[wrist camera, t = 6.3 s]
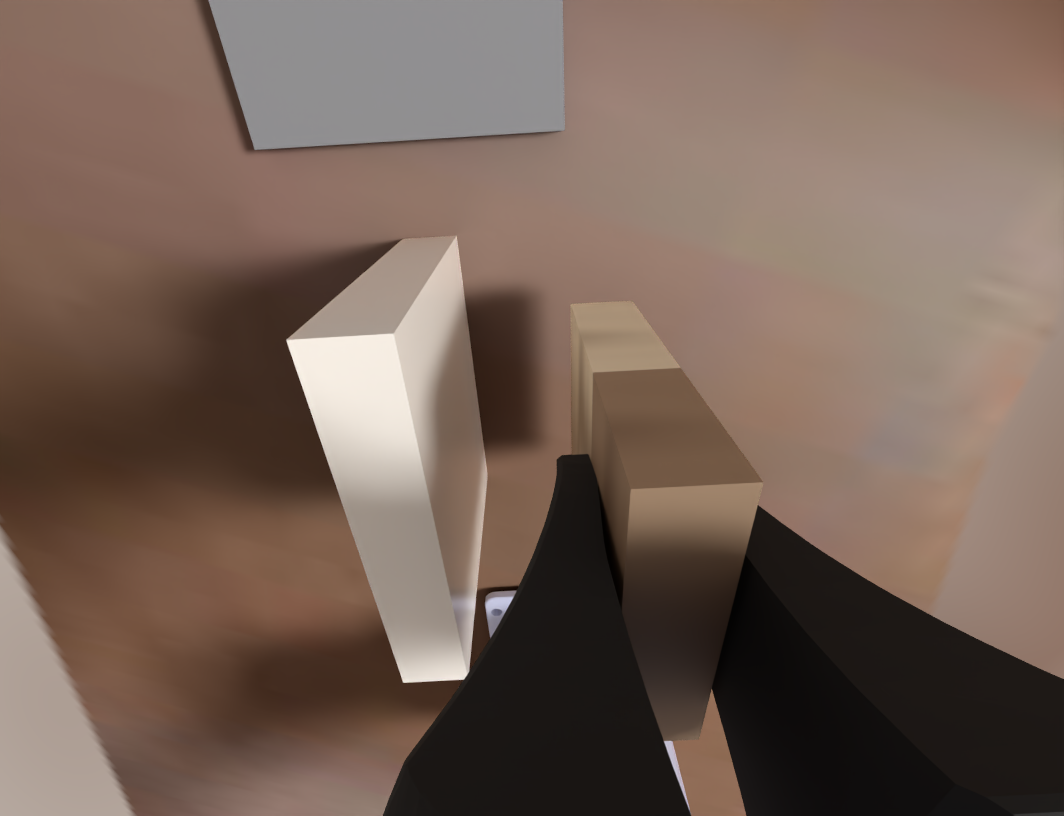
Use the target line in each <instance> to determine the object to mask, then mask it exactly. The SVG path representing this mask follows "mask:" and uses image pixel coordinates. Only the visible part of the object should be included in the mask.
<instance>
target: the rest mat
mask: <svg viewBox="0 0 1064 816" xmlns="http://www.w3.org/2000/svg"><path fill="white" fill-rule="evenodd" d="M208 1H209V4H210V7H211V10H212V13H213V17H214V20H215V23H216V26H217V30H218V33H219V36H220V39H221V42H222V46H223V49H224V52H225V55H226V59H227V62H228V65H229V68H230V72H231V75H232V78H233V81H234V84H235V88H236V91H237V94H238V97H239V101H240V104H241V107H242V110H243V113H244V117H245V120H246V123H247V126H248V130H249V133H250V136H251V139H252V142H253V146H254V149H255V150H262V149H279V148H295V147H311V146H327V145H343V144H359V143H375V142H391V141H407V140H423V139H439V138H455V137H471V136H487V135H503V134H519V133H535V132H551V131H564V130H565V117H564V54H563V0H208Z"/></svg>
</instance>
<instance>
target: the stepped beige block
mask: <svg viewBox="0 0 1064 816" xmlns="http://www.w3.org/2000/svg"><path fill="white" fill-rule="evenodd" d="M571 433H572V455H578V454H588V455H589V457H590V460H591V462H592V465H593V468H594V471H595V474H596V477H597V484H598V492H599V501H600V510H601V519H602V528H603V536H604V544H605V549H606V555H607V560H608V564H609V567H610V571H611V575H612V579H613V582H614V586H615V590H616V593H617V597H618V601H619V604H620V607H621V611H622V614H623V618H624V621H625V624H626V628H627V631H628V635H629V638H630V641H631V645H632V648H633V651H634V654H635V657H636V660H637V663H638V666H639V669H640V673H641V676H642V679H643V682H644V685H645V688H646V691H647V694H648V697H649V700H650V703H651V706H652V709H653V712H654V714H655V717H656V720H657V723H658V726H659V729H660V731H661V734H662V737H663V740H664V741H678V740H697V739H699V736H700V733H701V729H702V725H703V721H704V717H705V713H706V709H707V705H708V701H709V697H710V693H711V689H712V685H713V681H714V677H715V673H716V669H717V665H718V661H719V657H720V653H721V649H722V645H723V641H724V637H725V633H726V629H727V625H728V621H729V617H730V613H731V609H732V605H733V601H734V597H735V593H736V589H737V585H738V582H739V578H740V574H741V570H742V566H743V562H744V558H745V554H746V550H747V546H748V542H749V538H750V534H751V530H752V526H753V522H754V518H755V514H756V510H757V506H758V502H759V498H760V494H761V490H762V486H763V481H762V480H761V478H760V477H759V475H758V474H757V473H756V471H755V470H754V469H753V467H752V466H751V464H750V463H749V462H748V460H747V459H746V457H745V456H744V455H743V453H742V452H741V451H740V449H739V448H738V446H737V445H736V444H735V442H734V441H733V440H732V438H731V437H730V435H729V434H728V433H727V431H726V430H725V429H724V427H723V426H722V424H721V423H720V422H719V420H718V419H717V417H716V416H715V415H714V413H713V412H712V411H711V409H710V408H709V406H708V405H707V404H706V402H705V401H704V400H703V398H702V397H701V395H700V394H699V393H698V391H697V390H696V388H695V387H694V386H693V384H692V383H691V382H690V380H689V379H688V377H687V376H686V375H685V373H684V372H683V371H682V369H681V368H680V366H679V365H678V364H677V362H676V361H675V359H674V358H673V357H672V355H671V354H670V353H669V351H668V350H667V348H666V347H665V346H664V344H663V343H662V342H661V340H660V339H659V337H658V336H657V335H656V333H655V332H654V331H653V329H652V328H651V326H650V325H649V324H648V322H647V321H646V319H645V318H644V317H643V315H642V314H641V313H640V311H639V310H638V308H637V307H636V306H635V304H634V303H633V302H632V301H617V302H598V303H580V304H571Z"/></svg>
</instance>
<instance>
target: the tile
mask: <svg viewBox="0 0 1064 816" xmlns="http://www.w3.org/2000/svg"><path fill="white" fill-rule="evenodd" d="M286 341H287V344H288V347H289V350H290V353H291V356H292V358H293V361H294V364H295V367H296V370H297V373H298V376H299V379H300V382H301V385H302V388H303V391H304V394H305V396H306V399H307V402H308V405H309V408H310V411H311V414H312V417H313V420H314V423H315V426H316V429H317V432H318V434H319V437H320V440H321V443H322V446H323V449H324V452H325V455H326V458H327V461H328V464H329V467H330V470H331V472H332V475H333V478H334V481H335V484H336V487H337V490H338V493H339V496H340V499H341V502H342V505H343V508H344V510H345V513H346V516H347V519H348V522H349V525H350V528H351V531H352V534H353V537H354V540H355V543H356V546H357V548H358V551H359V554H360V557H361V560H362V563H363V566H364V569H365V572H366V575H367V578H368V581H369V584H370V586H371V589H372V592H373V595H374V598H375V601H376V604H377V607H378V610H379V613H380V616H381V619H382V622H383V624H384V627H385V630H386V633H387V636H388V639H389V642H390V645H391V648H392V651H393V654H394V657H395V660H396V662H397V665H398V668H399V671H400V674H401V677H402V680H403V683H409V682H428V681H446V680H464V679H465V677H466V676H467V674H468V673H469V667H470V657H471V646H472V635H473V625H474V614H475V604H476V593H477V582H478V572H479V561H480V550H481V540H482V529H483V518H484V508H485V497H486V487H487V476H488V475H487V467H486V460H485V452H484V444H483V436H482V429H481V421H480V413H479V405H478V398H477V390H476V382H475V375H474V367H473V359H472V351H471V344H470V336H469V328H468V320H467V313H466V305H465V297H464V289H463V282H462V274H461V266H460V258H459V251H458V243H457V236H443V237H426V238H410V239H402V240H401V241H400V242H399V243H397V244H396V245H395V246H394V247H393V248H392V249H391V250H389V251H388V252H387V253H386V254H385V255H384V256H382V257H381V258H380V259H379V260H378V261H377V262H376V263H374V264H373V265H372V266H371V267H370V268H369V269H367V270H366V271H365V272H364V273H363V274H362V275H361V276H359V277H358V278H357V279H356V280H355V281H354V282H352V283H351V284H350V285H349V286H348V287H347V288H346V289H344V290H343V291H342V292H341V293H340V294H339V295H337V296H336V297H335V298H334V299H333V300H332V301H331V302H329V303H328V304H327V305H326V306H325V307H324V308H322V309H321V310H320V311H319V312H318V313H317V314H316V315H314V316H313V317H312V318H311V319H310V320H309V321H307V322H306V323H305V324H304V325H303V326H302V327H301V328H299V329H298V330H297V331H296V332H295V333H294V334H292V335H291V336H290V337H289V338H288V339H287V340H286Z"/></svg>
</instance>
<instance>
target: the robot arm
mask: <svg viewBox="0 0 1064 816" xmlns="http://www.w3.org/2000/svg"><path fill="white" fill-rule="evenodd" d="M485 609H486V615H487V621H488V627H489V633H490V640H489V642H488V643H487V645H486V646H485V648H484V650H483V651H482V653H481V654H480V656H479V657H478V659H477V660H476V662H475V663H474V665H473V666H472V668H471V670H470V671H469V673H468V674H467V676H466V677H465V679H464V680H463V682H462V683H461V685H460V686H459V688H458V689H457V691H456V692H455V694H454V695H453V697H452V698H451V699H450V701H449V702H448V704H447V705H446V706H445V708H444V709H443V710H442V712H441V713H440V714H439V716H438V717H437V718H436V720H435V721H434V722H433V724H432V725H431V726H430V728H429V729H428V730H427V732H426V733H425V734H424V736H423V737H422V738H421V740H420V741H419V742H418V744H417V745H416V746H415V748H414V749H413V750H412V752H411V753H410V754H409V756H408V757H407V758H406V760H405V762H404V764H403V766H402V769H401V771H400V773H399V776H398V778H397V781H396V783H395V785H394V788H393V790H392V793H391V795H390V798H389V800H388V803H387V806H386V808H385V811H384V814H383V816H691V813H690V809H689V805H688V801H687V797H686V793H685V789H684V785H683V782H682V778H681V774H680V770H679V766H678V762H677V758H676V754H675V750H674V746H673V742H672V741H664V740H663V737H662V734H661V731H660V729H659V726H658V723H657V720H656V717H655V714H654V712H653V709H652V706H651V703H650V700H649V697H648V694H647V691H646V688H645V685H644V682H643V679H642V676H641V673H640V669H639V666H638V663H637V660H636V657H635V654H634V651H633V648H632V645H631V641H630V638H629V635H628V631H627V628H626V624H625V621H624V618H623V614H622V611H621V607H620V604H619V601H618V597H617V593H616V590H615V586H614V582H613V579H612V575H611V571H610V567H609V564H608V560H607V555H606V549H605V544H604V536H603V528H602V519H601V510H600V501H599V492H598V484H597V477H596V474H595V471H594V468H593V465H592V462H591V460H590V457H589V455H588V454H578V455H562V456H560V457H559V458H558V459H557V476H556V483H555V488H554V493H553V497H552V501H551V504H550V508H549V511H548V515H547V518H546V522H545V525H544V528H543V530H542V533H541V535H540V538H539V541H538V543H537V546H536V549H535V551H534V554H533V556H532V559H531V561H530V563H529V566H528V568H527V570H526V572H525V575H524V577H523V579H522V581H521V583H520V585H519V587H518V589H517V590H515V591H497V592H491V593H489V594H488V595H487V596H486V599H485ZM712 691H713V694H714V698H715V701H716V704H717V708H718V711H719V715H720V718H721V722H722V725H723V729H724V732H725V736H726V740H727V743H728V747H729V751H730V754H731V758H732V762H733V766H734V769H735V773H736V777H737V780H738V784H739V788H740V791H741V795H742V799H743V803H744V807H745V811H746V815H747V816H1064V679H1062V678H1060V677H1057V676H1055V675H1052V674H1050V673H1048V672H1046V671H1044V670H1041V669H1039V668H1037V667H1035V666H1032V665H1030V664H1028V663H1026V662H1024V661H1022V660H1020V659H1018V658H1016V657H1014V656H1012V655H1010V654H1007V653H1005V652H1003V651H1001V650H999V649H997V648H995V647H993V646H991V645H988V644H986V643H984V642H982V641H980V640H978V639H976V638H974V637H972V636H970V635H968V634H966V633H964V632H962V631H960V630H958V629H956V628H954V627H952V626H950V625H948V624H946V623H944V622H942V621H940V620H939V619H937V618H935V617H933V616H931V615H929V614H927V613H926V612H924V611H922V610H920V609H918V608H916V607H915V606H913V605H911V604H909V603H907V602H905V601H904V600H902V599H900V598H898V597H896V596H894V595H892V594H891V593H889V592H887V591H886V590H884V589H882V588H880V587H879V586H877V585H875V584H873V583H872V582H870V581H868V580H867V579H865V578H863V577H862V576H860V575H859V574H857V573H855V572H854V571H852V570H851V569H849V568H847V567H846V566H844V565H843V564H841V563H839V562H838V561H836V560H835V559H833V558H831V557H830V556H828V555H827V554H825V553H824V552H822V551H821V550H819V549H818V548H816V547H815V546H813V545H812V544H810V543H809V542H807V541H806V540H805V539H803V538H802V537H800V536H799V535H798V534H796V533H795V532H793V531H792V530H791V529H789V528H788V527H786V526H785V525H784V524H782V523H781V522H780V521H778V520H777V519H776V518H774V517H773V516H772V515H770V514H769V513H768V512H766V511H765V510H764V509H762V508H761V507H760V506H759V505H758V506H757V510H756V514H755V518H754V522H753V526H752V530H751V534H750V538H749V542H748V546H747V550H746V554H745V558H744V562H743V566H742V570H741V574H740V578H739V582H738V585H737V589H736V593H735V597H734V601H733V605H732V609H731V613H730V617H729V621H728V625H727V629H726V633H725V637H724V641H723V645H722V649H721V653H720V657H719V661H718V665H717V669H716V673H715V677H714V681H713V685H712Z"/></svg>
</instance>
